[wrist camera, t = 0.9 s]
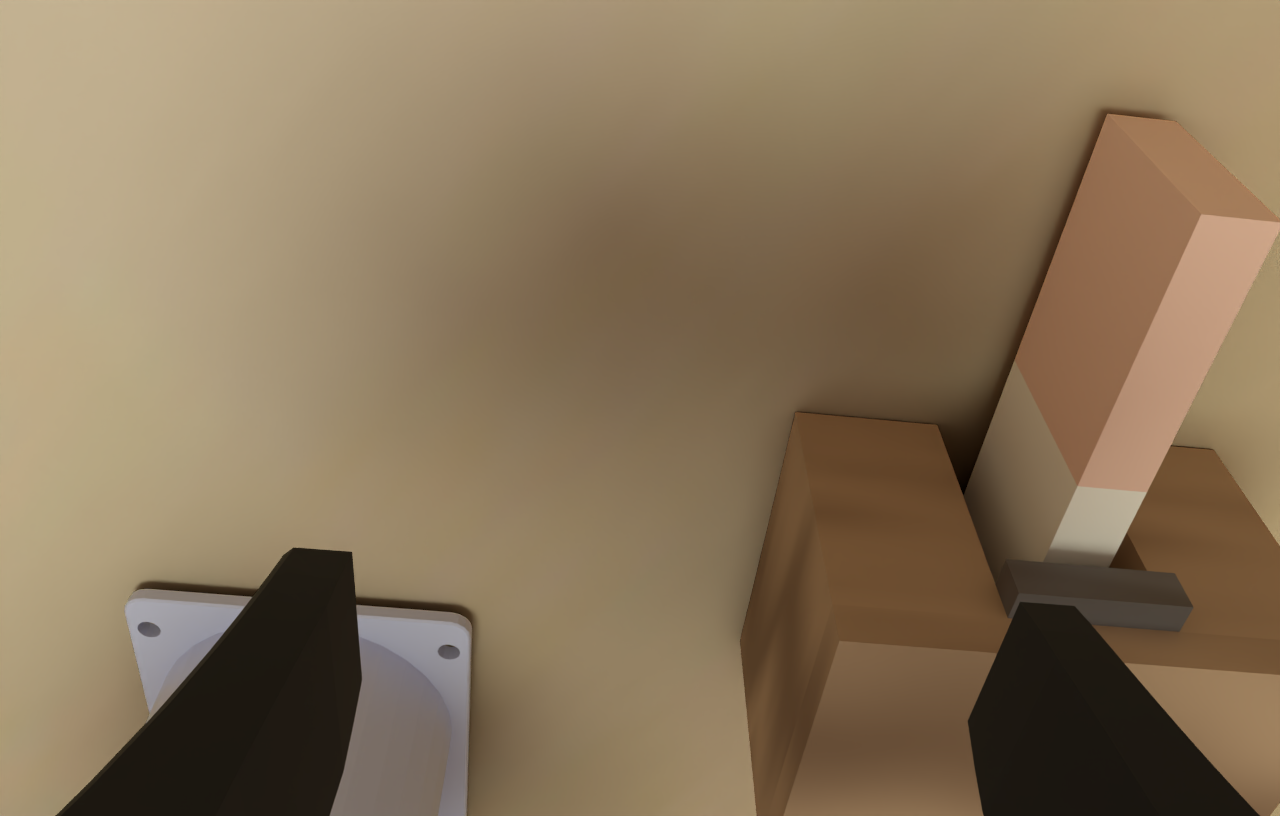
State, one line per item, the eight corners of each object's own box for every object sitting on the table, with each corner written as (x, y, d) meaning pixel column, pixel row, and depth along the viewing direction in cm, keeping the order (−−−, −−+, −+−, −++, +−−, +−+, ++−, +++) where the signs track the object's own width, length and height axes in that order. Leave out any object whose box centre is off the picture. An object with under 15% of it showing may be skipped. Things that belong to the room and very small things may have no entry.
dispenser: (1096, 668, 27) (1198, 906, 22) (740, 641, 27) (762, 879, 22) (1226, 427, 23) (1392, 658, 18) (801, 388, 22) (847, 615, 17)
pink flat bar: (967, 621, 26) (1011, 759, 22) (917, 617, 25) (955, 754, 22) (1176, 120, 18) (1283, 222, 15) (1107, 113, 18) (1201, 214, 15)
